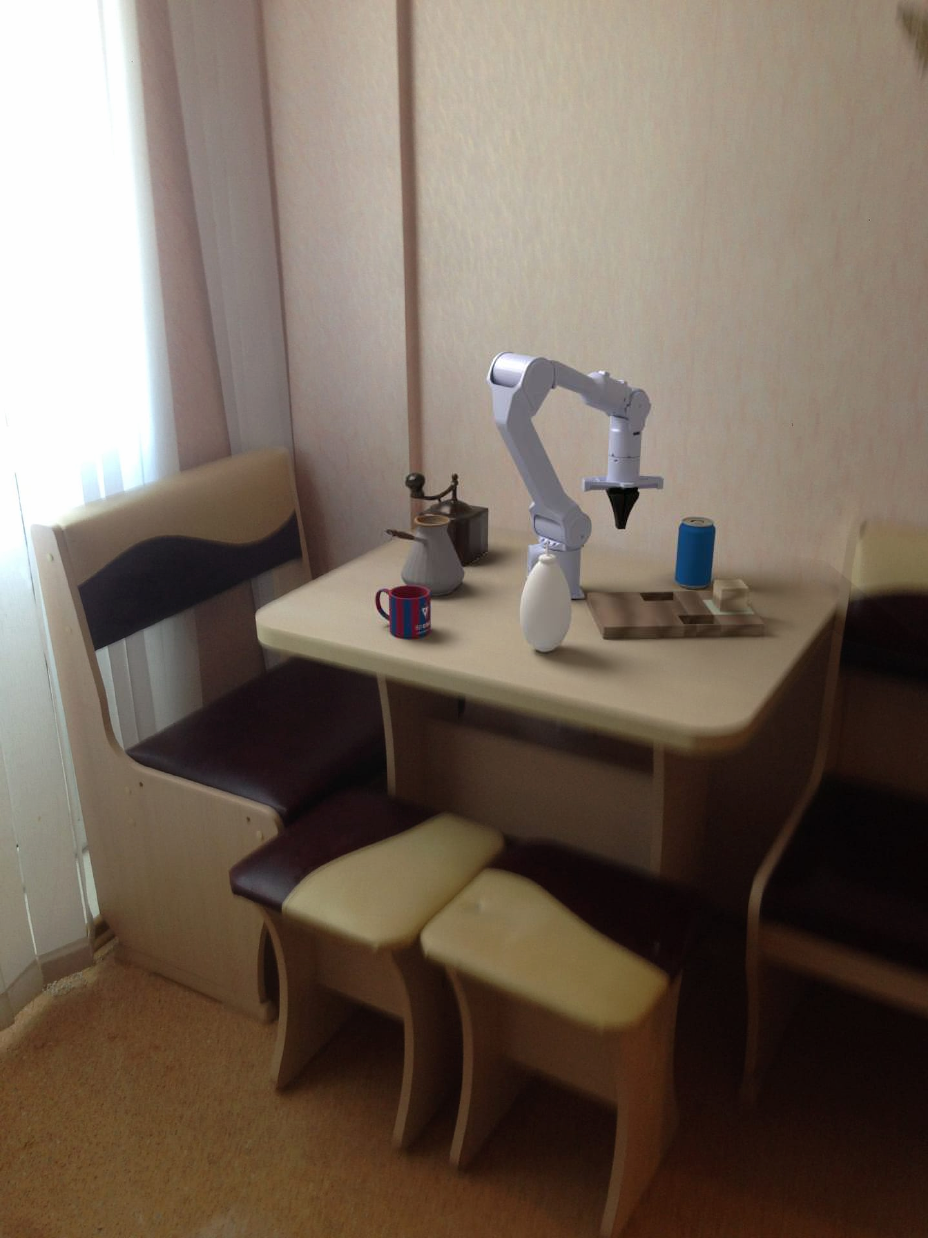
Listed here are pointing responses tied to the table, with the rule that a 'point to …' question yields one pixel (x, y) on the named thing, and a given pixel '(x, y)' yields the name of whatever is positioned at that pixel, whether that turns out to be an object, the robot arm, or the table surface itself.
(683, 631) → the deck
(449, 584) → the coffee pot
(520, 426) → the robot arm
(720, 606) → the block
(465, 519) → the coffee grinder
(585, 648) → the table surface
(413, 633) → the mug
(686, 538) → the beverage can
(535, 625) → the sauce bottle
